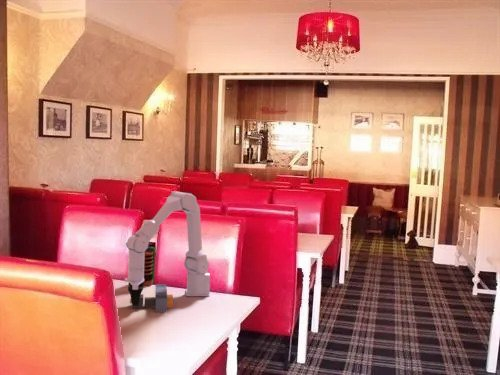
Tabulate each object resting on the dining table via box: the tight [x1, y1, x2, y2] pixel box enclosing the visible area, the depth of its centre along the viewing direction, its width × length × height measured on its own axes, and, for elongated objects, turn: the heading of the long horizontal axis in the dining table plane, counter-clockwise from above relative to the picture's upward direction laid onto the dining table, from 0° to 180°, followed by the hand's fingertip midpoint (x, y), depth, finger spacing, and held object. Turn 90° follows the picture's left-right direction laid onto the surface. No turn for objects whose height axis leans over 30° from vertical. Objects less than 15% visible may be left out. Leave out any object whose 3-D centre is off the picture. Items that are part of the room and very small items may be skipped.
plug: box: [129, 293, 174, 309], centre depth 182 cm, size 16×4×4 cm, turn 101°
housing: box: [154, 283, 168, 313], centre depth 183 cm, size 4×14×6 cm, turn 11°
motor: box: [143, 246, 156, 287], centre depth 210 cm, size 10×9×20 cm
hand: (135, 302), depth 181 cm, fingers closed on plug, 4 cm apart
